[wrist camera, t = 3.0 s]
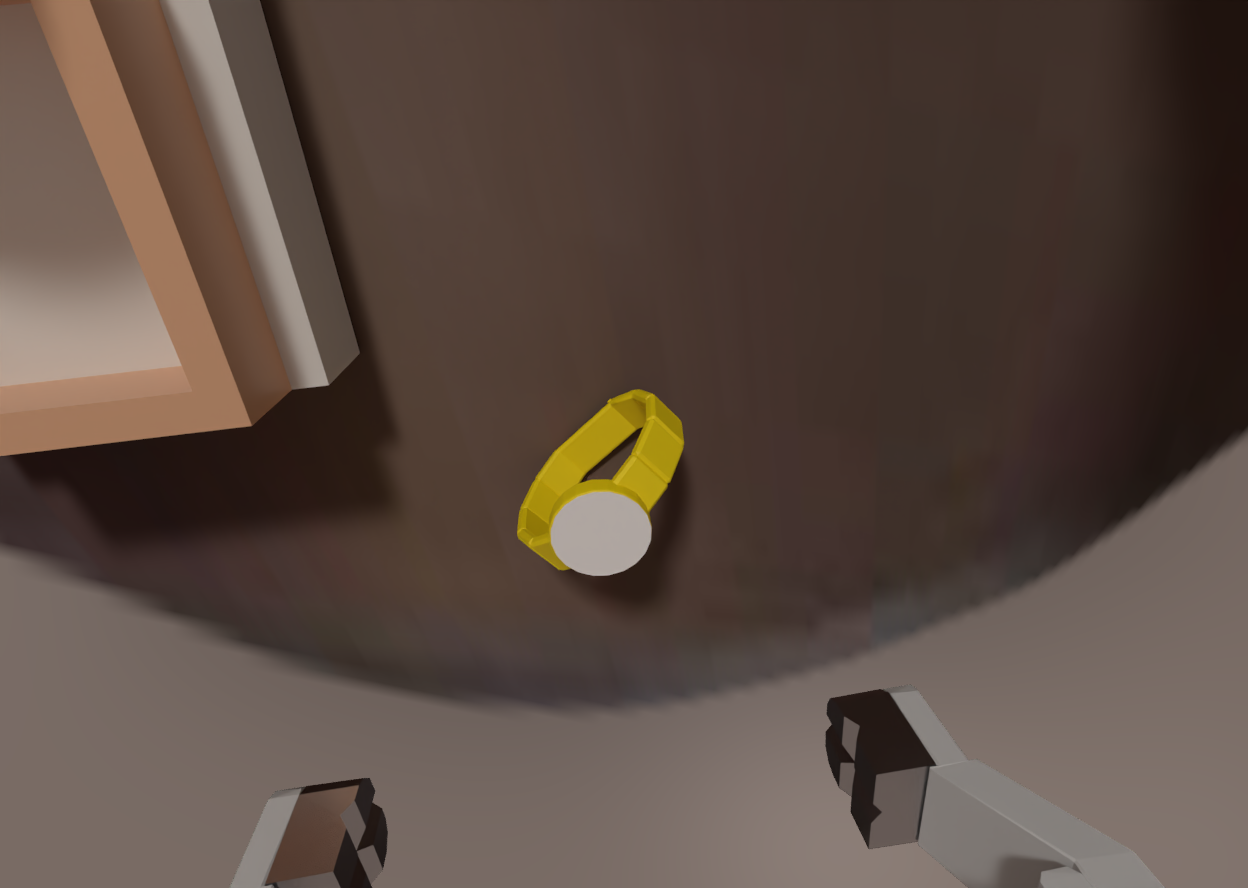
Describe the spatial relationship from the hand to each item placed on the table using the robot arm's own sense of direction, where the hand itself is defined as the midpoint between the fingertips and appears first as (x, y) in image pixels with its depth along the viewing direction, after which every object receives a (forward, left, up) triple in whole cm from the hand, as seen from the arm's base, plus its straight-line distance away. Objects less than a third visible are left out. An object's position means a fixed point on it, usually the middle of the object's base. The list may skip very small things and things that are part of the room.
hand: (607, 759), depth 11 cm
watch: (0, -1, -13) cm, 13 cm away
